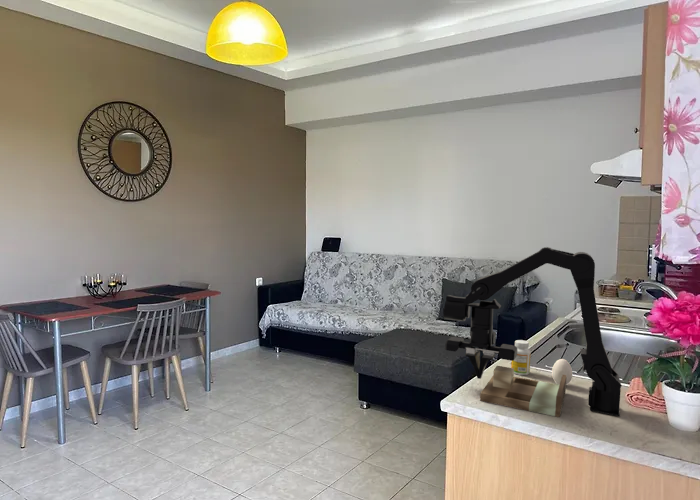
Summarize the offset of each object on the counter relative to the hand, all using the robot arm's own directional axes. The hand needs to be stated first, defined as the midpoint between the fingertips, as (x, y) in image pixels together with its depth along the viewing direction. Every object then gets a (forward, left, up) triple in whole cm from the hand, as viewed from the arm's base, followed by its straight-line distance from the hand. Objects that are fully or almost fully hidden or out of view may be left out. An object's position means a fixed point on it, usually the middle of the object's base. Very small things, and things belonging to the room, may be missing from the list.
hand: (479, 378), depth 132 cm
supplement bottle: (-8, -20, -3) cm, 22 cm away
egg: (-20, -15, -3) cm, 25 cm away
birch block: (-6, 0, -1) cm, 6 cm away
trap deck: (-12, 0, -3) cm, 12 cm away
